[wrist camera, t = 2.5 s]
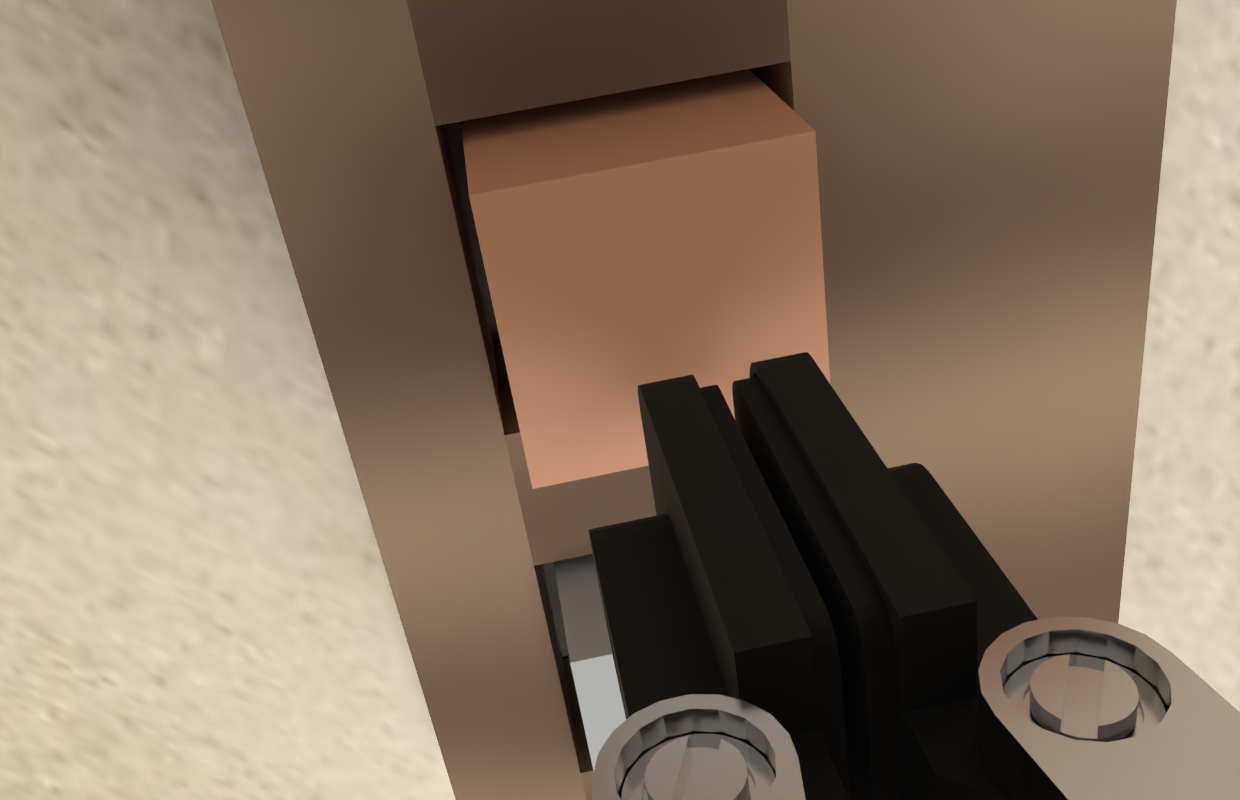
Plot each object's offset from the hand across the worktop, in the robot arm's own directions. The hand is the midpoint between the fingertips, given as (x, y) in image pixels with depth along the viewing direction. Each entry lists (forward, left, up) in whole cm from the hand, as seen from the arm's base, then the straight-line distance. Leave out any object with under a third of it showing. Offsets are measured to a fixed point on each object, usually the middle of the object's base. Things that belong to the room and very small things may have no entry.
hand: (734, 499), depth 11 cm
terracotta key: (0, 0, -7) cm, 7 cm away
